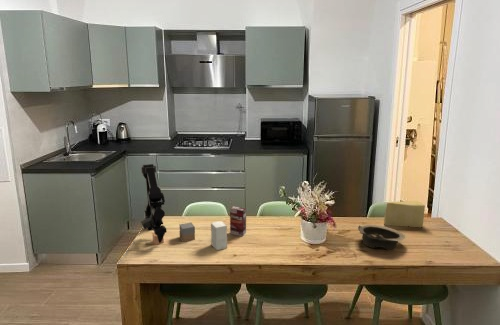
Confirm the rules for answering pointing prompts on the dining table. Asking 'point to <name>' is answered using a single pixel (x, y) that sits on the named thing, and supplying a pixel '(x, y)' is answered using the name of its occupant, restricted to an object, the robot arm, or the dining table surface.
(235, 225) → the supplement box
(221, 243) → the small box
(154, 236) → the terracotta cube
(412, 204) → the cheese
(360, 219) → the dining table surface
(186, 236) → the tower base
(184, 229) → the tower top
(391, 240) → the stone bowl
